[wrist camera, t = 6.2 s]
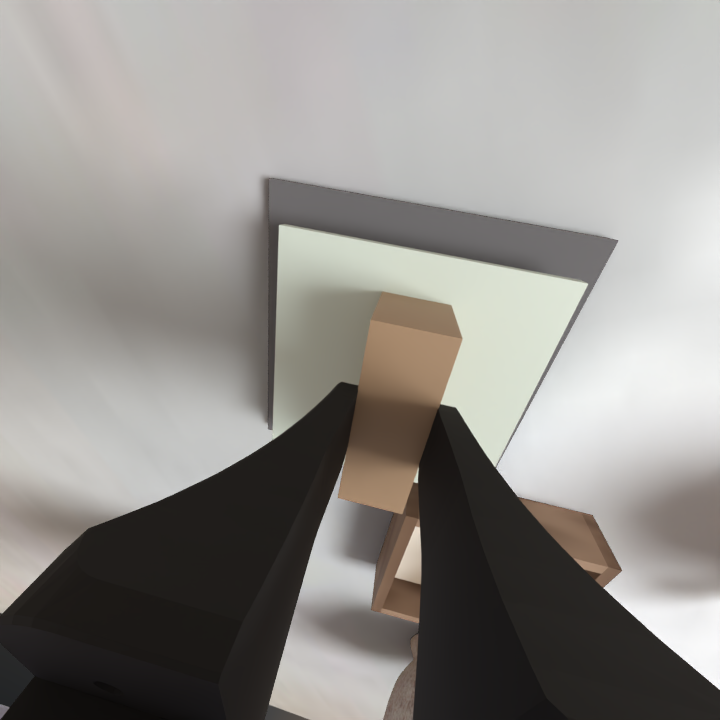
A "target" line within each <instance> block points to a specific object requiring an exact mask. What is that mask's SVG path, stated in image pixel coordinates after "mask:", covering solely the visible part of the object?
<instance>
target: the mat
mask: <svg viewBox="0 0 720 720" xmlns="http://www.w3.org/2000/svg"><path fill="white" fill-rule="evenodd" d="M281 224H288V225H293V226H298V227H303V228H309V229H314V230H319V231H324V232H330V233H335V234H340V235H345V236H351V237H356V238H361V239H367V240H372V241H377V242H382V243H388V244H393V245H398V246H403V247H409V248H414V249H419V250H425V251H430V252H435V253H440V254H446V255H451V256H456V257H461V258H467V259H472V260H477V261H482V262H488V263H493V264H498V265H504V266H509V267H514V268H519V269H525V270H530V271H535V272H540V273H546V274H551V275H556V276H562V277H567V278H572V279H577V280H582V281H584V282H586V283H588V286H587V288H586V290H585V292H584V294H583V296H582V297H581V299H580V301H579V303H578V305H577V307H576V309H575V311H574V313H573V315H572V317H571V319H570V321H569V323H568V325H567V327H566V329H565V331H564V333H563V335H562V337H561V339H560V341H559V343H558V345H557V347H556V349H555V351H554V353H553V355H552V357H551V358H550V360H549V362H548V364H547V366H546V368H545V370H544V372H543V374H542V376H541V378H540V380H539V382H538V384H537V386H536V388H535V390H534V392H533V394H532V396H531V398H530V400H529V402H528V404H527V406H526V408H525V410H524V412H523V414H522V416H521V418H520V419H519V421H518V423H517V425H516V427H515V429H514V431H513V433H512V435H511V437H510V439H509V441H508V443H507V445H506V447H505V449H504V451H503V453H502V455H501V457H502V456H503V454H504V452H505V450H506V448H507V446H508V444H509V443H510V441H511V439H512V437H513V435H514V433H515V432H516V430H517V428H518V426H519V424H520V422H521V420H522V419H523V417H524V415H525V413H526V411H527V409H528V407H529V406H530V404H531V402H532V400H533V398H534V396H535V394H536V393H537V391H538V389H539V387H540V385H541V383H542V381H543V380H544V378H545V376H546V374H547V372H548V370H549V368H550V367H551V365H552V363H553V361H554V359H555V357H556V356H557V354H558V352H559V350H560V348H561V346H562V344H563V343H564V341H565V339H566V337H567V335H568V333H569V331H570V330H571V328H572V326H573V324H574V322H575V320H576V318H577V317H578V315H579V313H580V311H581V309H582V307H583V305H584V304H585V302H586V300H587V298H588V296H589V294H590V292H591V291H592V289H593V287H594V285H595V283H596V281H597V279H598V278H599V276H600V274H601V272H602V270H603V268H604V267H605V265H606V263H607V261H608V259H609V257H610V255H611V254H612V252H613V250H614V248H615V246H616V244H617V242H618V241H619V240H614V239H610V238H604V237H599V236H593V235H587V234H582V233H576V232H571V231H565V230H559V229H554V228H548V227H543V226H537V225H531V224H526V223H520V222H515V221H509V220H503V219H498V218H492V217H487V216H481V215H475V214H470V213H464V212H458V211H453V210H447V209H442V208H436V207H430V206H425V205H419V204H414V203H408V202H402V201H397V200H391V199H386V198H380V197H374V196H369V195H363V194H358V193H352V192H346V191H341V190H335V189H330V188H324V187H318V186H313V185H307V184H302V183H296V182H290V181H285V180H279V179H274V178H269V329H268V429H269V430H273V401H274V369H275V337H276V305H277V273H278V241H279V225H281ZM501 457H500V459H501ZM500 459H499V461H500ZM499 461H498V463H499ZM498 463H497V465H498ZM497 465H496V467H497ZM496 467H495V468H496Z"/></svg>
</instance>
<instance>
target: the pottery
mask: <svg viewBox="0 0 720 720" xmlns="http://www.w3.org/2000/svg"><path fill="white" fill-rule="evenodd" d="M410 644H411V651H412V654H413V659H414V660H413V661H412V662H411V663H410V664H409V665H408V666H407V667H406V668H405V669H404V671H403V672H402V673H401V674H400V676H399V677H398V679H397V681H396V683H395V686H394V688H393V691H392V693H391V696H390V698H389V701H388V705H387V708H386V712H385V715H384V719H383V720H413V710H414V695H415V680H416V666H417V650H418V634H416V635H414V636H413V637H412V638H411V641H410Z"/></svg>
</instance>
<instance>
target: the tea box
mask: <svg viewBox="0 0 720 720" xmlns="http://www.w3.org/2000/svg"><path fill="white" fill-rule="evenodd" d="M518 498H519V499H520V500H521V502H522V503H523V504H524V505H525V506H526V508H527V509H528V510H529V511H530V512H531V513H532V514H533V516H534V517H535V518H536V519H537V520H538V521H539V523H540V524H541V525H542V526H543V527H544V528H545V529H546V530H547V532H548V533H549V534H550V535H551V536H552V537H553V538H554V539H555V540H556V541H557V542H558V543H559V544H560V545H561V547H562V548H563V549H564V550H565V551H566V552H567V553H568V554H569V555H570V556H571V557H572V558H573V559H574V560H575V561H576V562H577V563H578V564H579V565H580V566H581V567H582V568H583V569H584V570H585V571H586V572H587V573H588V574H589V575H590V576H591V577H592V578H593V579H594V580H595V581H596V582H597V583H598V584H600V585H601V586H602V587H605V586H606V585H607V584H608V583H609V582H610V581H611V580H612V579H613V578H615V577H616V576H617V575H618V574H619V573H620V572H621V571H622V570H621V568H620V566H619V564H618V562H617V560H616V558H615V556H614V555H613V553H612V551H611V549H610V547H609V545H608V543H607V541H606V539H605V538H604V536H603V534H602V532H601V530H600V528H599V526H598V524H597V523H596V521H595V519H594V517H593V515H589V514H585V513H581V512H577V511H573V510H569V509H565V508H561V507H557V506H552V505H548V504H544V503H540V502H536V501H532V500H528V499H524V498H520V497H518ZM420 592H421V538H420V518H419V496H418V483H415V482H413V485H412V488H411V491H410V494H409V496H408V499H407V502H406V505H405V508H404V511H403V514H399V513H395V512H394V514H393V517H392V520H391V523H390V526H389V529H388V532H387V535H386V538H385V541H384V543H383V546H382V549H381V552H380V555H379V558H378V561H377V564H376V572H375V581H374V589H373V598H372V606H371V610H373V611H377V612H380V613H384V614H387V615H391V616H395V617H398V618H402V619H405V620H409V621H412V622H416V623H419V614H420Z"/></svg>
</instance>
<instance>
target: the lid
mask: <svg viewBox="0 0 720 720" xmlns="http://www.w3.org/2000/svg"><path fill="white" fill-rule="evenodd" d="M587 286H588V283H586V282H584V281H582V280H577V279H572V278H567V277H562V276H556V275H551V274H546V273H540V272H535V271H530V270H525V269H519V268H514V267H509V266H504V265H498V264H493V263H488V262H482V261H477V260H472V259H467V258H461V257H456V256H451V255H446V254H440V253H435V252H430V251H425V250H419V249H414V248H409V247H403V246H398V245H393V244H388V243H382V242H377V241H372V240H367V239H361V238H356V237H351V236H345V235H340V234H335V233H330V232H324V231H319V230H314V229H309V228H303V227H298V226H293V225H288V224H281V225H279V241H278V273H277V305H276V337H275V369H274V401H273V434H272V440H274V439H275V438H276V437H278V436H279V435H281V434H282V433H283V432H285V431H286V430H287V429H288V428H290V427H291V426H292V425H294V424H295V423H296V422H297V421H299V420H300V419H301V418H302V417H304V416H305V415H306V414H307V413H308V412H309V411H310V410H312V409H313V408H314V407H315V406H316V405H317V404H318V403H319V402H320V401H322V400H323V399H324V398H325V397H326V396H327V395H328V394H329V393H330V392H331V391H332V389H333V388H334V387H335V386H336V385H337V384H338V383H340V382H345V383H350V384H354V385H358V394H357V400H356V405H355V411H354V416H353V421H352V427H351V432H350V437H349V443H348V448H347V452H346V455H345V459H344V463H343V465H344V467H343V472H342V478H341V483H340V489H339V494H338V498H340V499H344V500H348V501H352V502H356V503H360V504H364V505H368V506H371V507H375V508H379V509H383V510H387V511H391V512H395V513H399V514H403V511H404V508H405V505H406V502H407V499H408V496H409V494H410V491H411V488H412V485H413V482H415V483H418V470H419V463H420V460H421V457H422V454H423V451H424V448H425V445H426V442H427V439H428V437H429V434H430V431H431V428H432V425H433V422H434V419H435V416H436V413H437V410H438V408H439V407H440V404H443V405H447V406H451V407H456V408H457V410H458V411H459V413H460V415H461V416H462V418H463V419H464V421H465V423H466V424H467V426H468V427H469V429H470V431H471V432H472V434H473V435H474V437H475V438H476V440H477V442H478V443H479V445H480V446H481V448H482V449H483V451H484V452H485V454H486V455H487V457H488V458H489V459H490V461H491V462H492V464H493V465H494V467H496V465H497V463H498V461H499V459H500V457H501V455H502V453H503V451H504V449H505V447H506V445H507V443H508V441H509V439H510V437H511V435H512V433H513V431H514V429H515V427H516V425H517V423H518V421H519V419H520V418H521V416H522V414H523V412H524V410H525V408H526V406H527V404H528V402H529V400H530V398H531V396H532V394H533V392H534V390H535V388H536V386H537V384H538V382H539V380H540V378H541V376H542V374H543V372H544V370H545V368H546V366H547V364H548V362H549V360H550V358H551V357H552V355H553V353H554V351H555V349H556V347H557V345H558V343H559V341H560V339H561V337H562V335H563V333H564V331H565V329H566V327H567V325H568V323H569V321H570V319H571V317H572V315H573V313H574V311H575V309H576V307H577V305H578V303H579V301H580V299H581V297H582V296H583V294H584V292H585V290H586V288H587Z"/></svg>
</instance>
